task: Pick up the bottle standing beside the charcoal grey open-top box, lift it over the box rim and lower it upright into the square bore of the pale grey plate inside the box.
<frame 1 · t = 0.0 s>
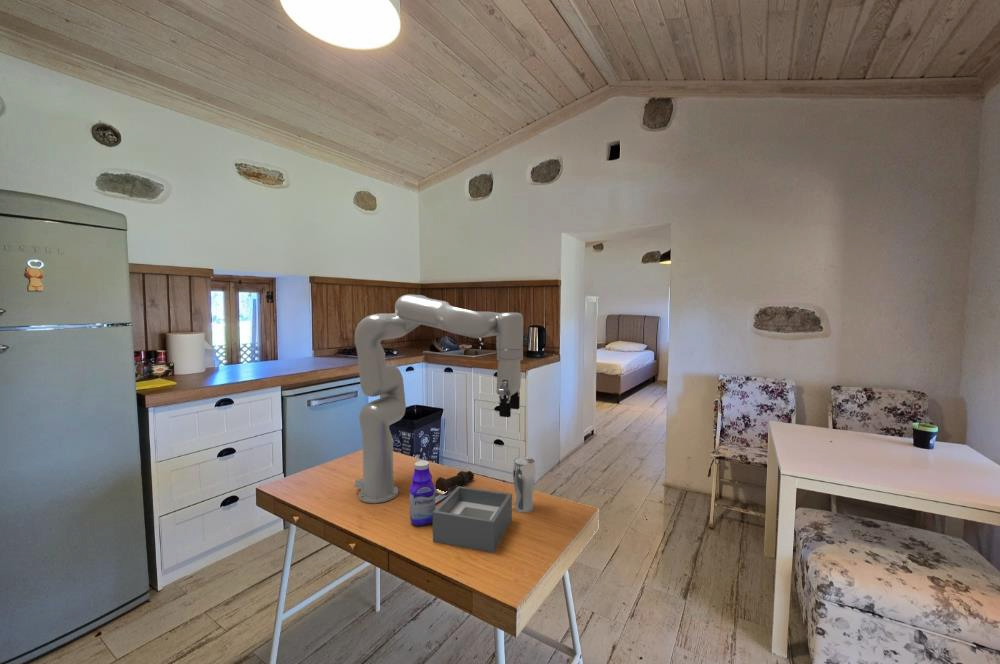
hand: (509, 412, 123), 31 cm above the table, tool pointing down, fingers open, 9 cm apart
bore box: (474, 530, 117), on the table
bolt: (456, 487, 145), on the table
bottle: (422, 522, 121), on the table
beer glass: (524, 508, 130), on the table
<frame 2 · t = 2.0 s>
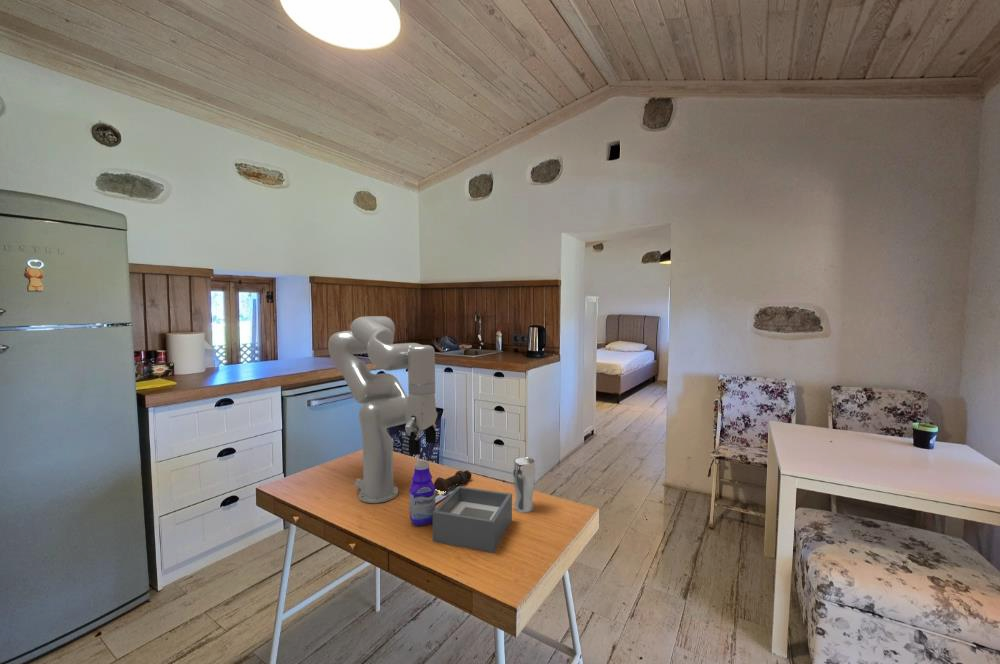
hand: (422, 447, 120), 22 cm above the table, tool pointing down, fingers open, 9 cm apart
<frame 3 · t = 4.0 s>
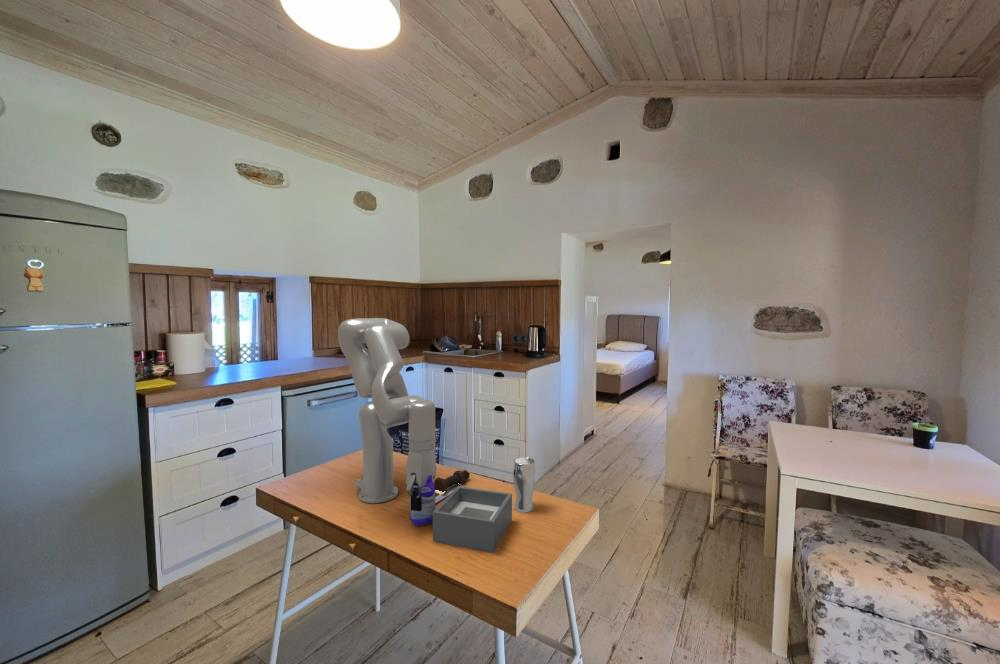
hand: (422, 503, 121), 5 cm above the table, tool pointing down, fingers closed on bottle, 6 cm apart
bottle: (422, 522, 121), on the table, touching gripper
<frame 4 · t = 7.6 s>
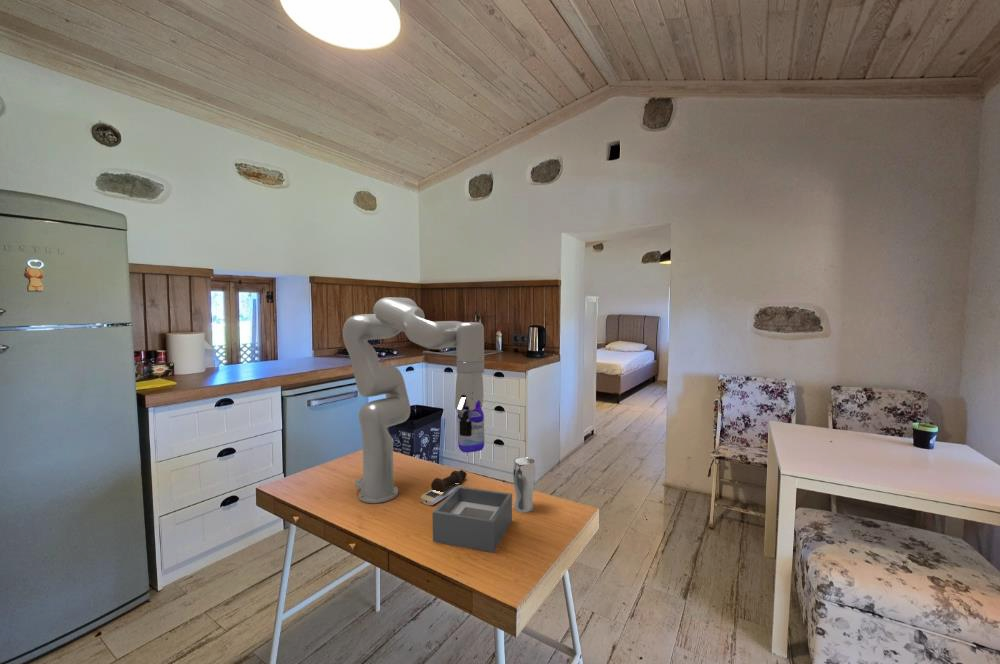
hand: (470, 431, 115), 28 cm above the table, tool pointing down, fingers closed on bottle, 6 cm apart
bottle: (471, 450, 116), point 23 cm above the table, touching gripper
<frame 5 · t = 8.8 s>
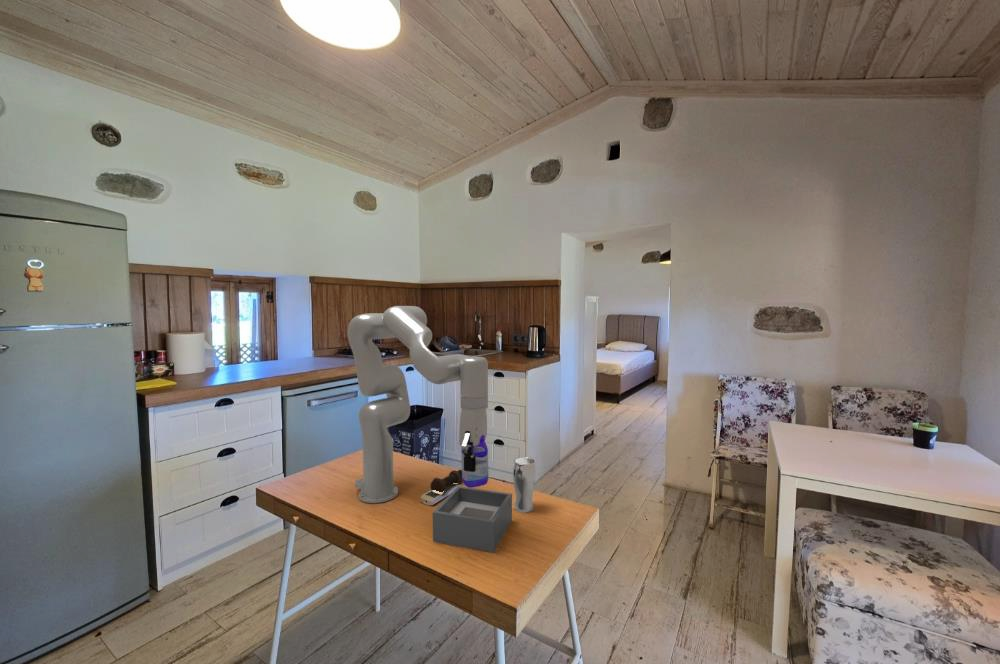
hand: (474, 465, 115), 19 cm above the table, tool pointing down, fingers closed on bottle, 6 cm apart
bottle: (475, 484, 116), point 13 cm above the table, touching gripper
when the fingers open (8 cm above the table, at t = 11.4 s): bottle drops 1 cm, resting on bore box.
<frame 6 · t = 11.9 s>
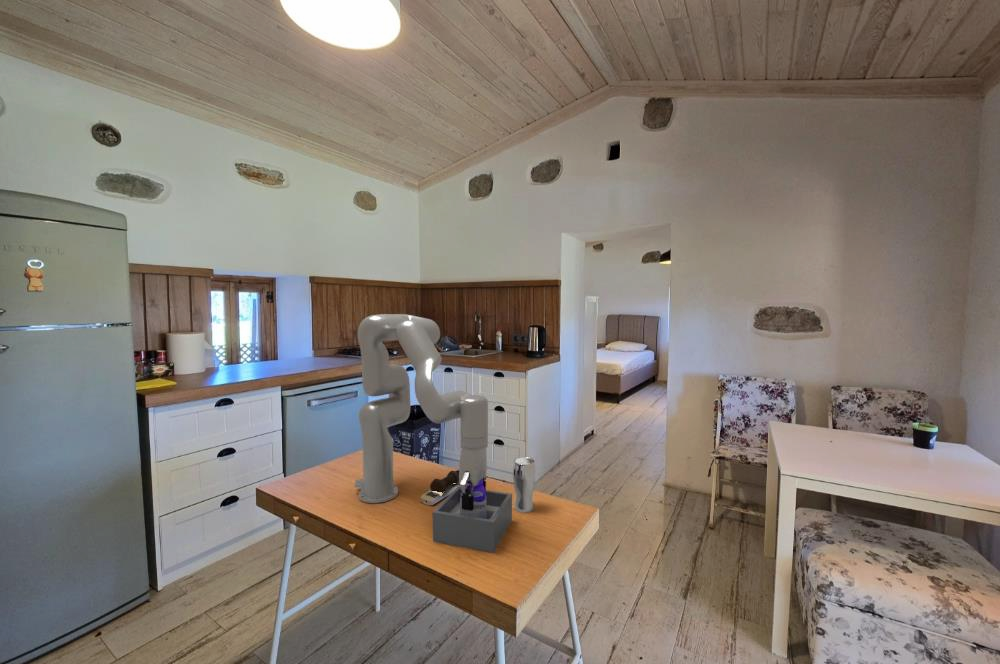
hand: (474, 501, 116), 8 cm above the table, tool pointing down, fingers open, 9 cm apart
bottle: (473, 528, 116), point 1 cm above the table, touching bore box
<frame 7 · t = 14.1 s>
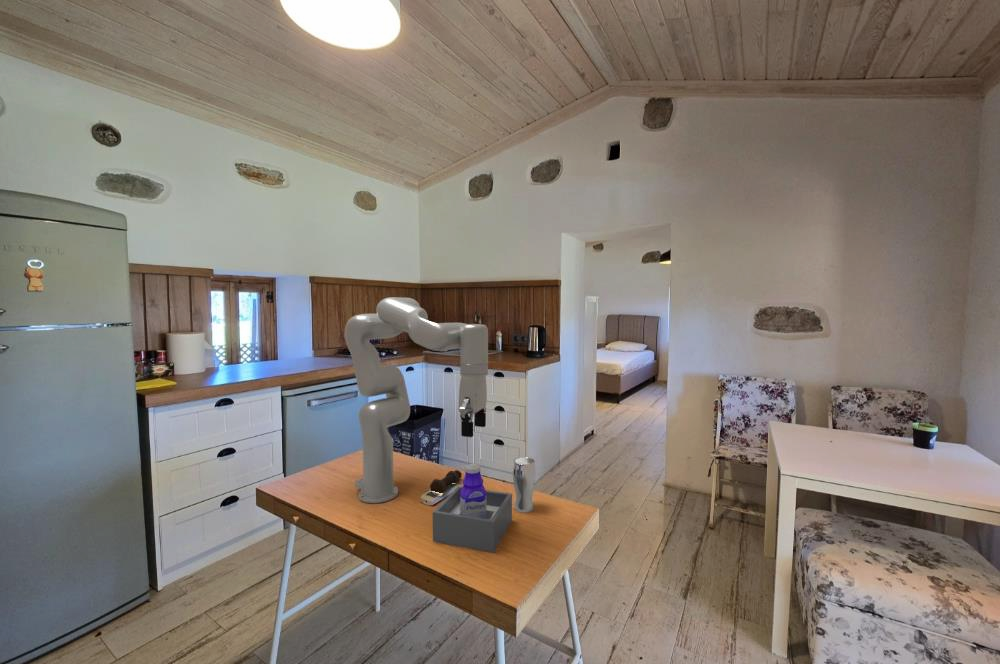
hand: (473, 431, 115), 28 cm above the table, tool pointing down, fingers open, 9 cm apart
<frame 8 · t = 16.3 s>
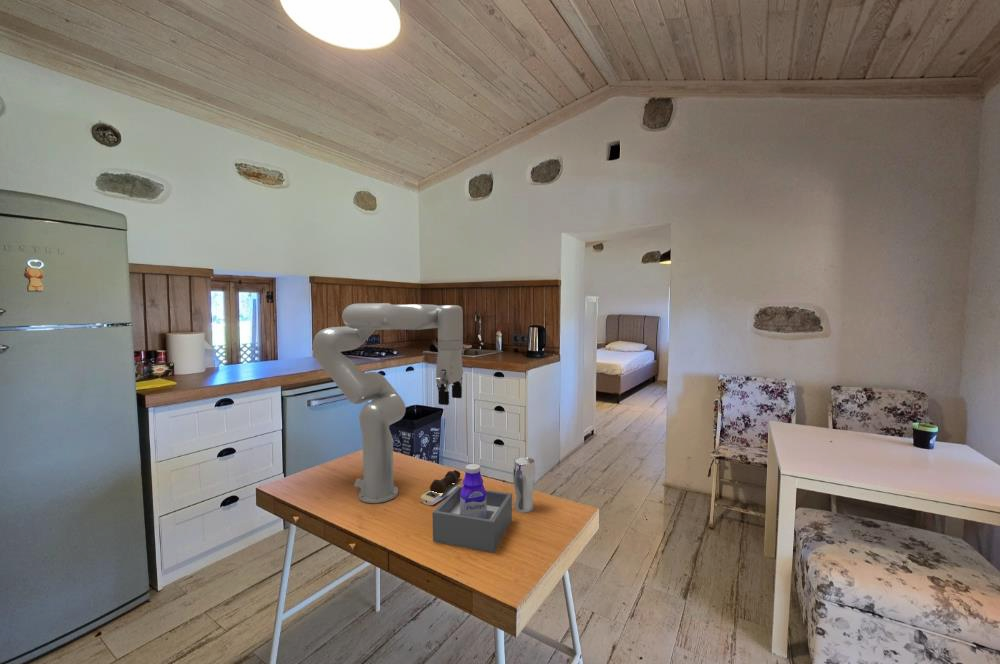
hand: (450, 401, 129), 33 cm above the table, tool pointing down, fingers open, 9 cm apart
at the end: bottle 0.3 cm off-centre on the bore box, point 0.8 cm above the bore box's base; bottle tilted 0°; the gripper is holding nothing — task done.
